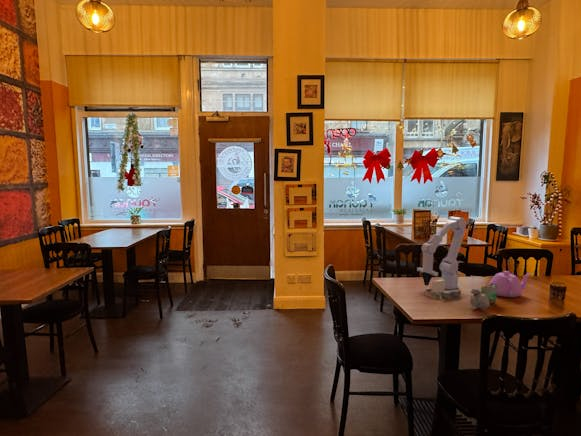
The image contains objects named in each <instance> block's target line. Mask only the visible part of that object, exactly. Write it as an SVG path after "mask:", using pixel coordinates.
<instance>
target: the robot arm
mask: <svg viewBox="0 0 581 436" xmlns="http://www.w3.org/2000/svg"><path fill="white" fill-rule="evenodd" d="M466 227H467V220H466V218H464V217H459V216H449V217H448V218H447V219H445V224H444V225H443V226H442V227H441V229H440V230H439V231H438V233H434V234H432V236H431V238H430V239H429V240H428V241H426V242H424V243H423V244H422V246H421V247H420V248H421V251H422V267H416V271H417V272H420V275H421V277H422V279H423V284H424V286H426V287H427V286H430V281H432V278H433V277H439V272H437V271H435V270H433V267H434V266H433V264H434V254H435V253H436V250H437V248H438V247H439V245H440V244H441V243H442V242H443V238H444V237H445V235H447V234H448V233H449V232H450V231H451V230H452V231H453V233H454V234H453V237H452V240H451V243H450V247H449V249H448V251H447V252H448V253H447V254H446V256H445V257H444V258H443V259H442V260H441V262H440V264H439V270H440V271H441V280H445V284H444V290H447V291H450V290H455V289H459V285H458V284H459V276H458V274H457V273H458V271H459V262H458V260H457V258H458V255H459V252H460V248H461V245H462V243H463V239H464V237H465V233H466ZM421 272H422V273H421Z"/></svg>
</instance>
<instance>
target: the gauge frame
mask: <svg viewBox="0 0 581 436" xmlns="http://www.w3.org/2000/svg"><path fill="white" fill-rule="evenodd" d="M461 292H462V291H461V290H460V289H458V288H454V289H449V290H444V292H438V293H436V292H433V291H426V290H425V291H424V295H425V296H427V297H430V298H433V299H435V300H441V301H444V302H445V301H450V300H454V299H460V298H462V296H461Z"/></svg>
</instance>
